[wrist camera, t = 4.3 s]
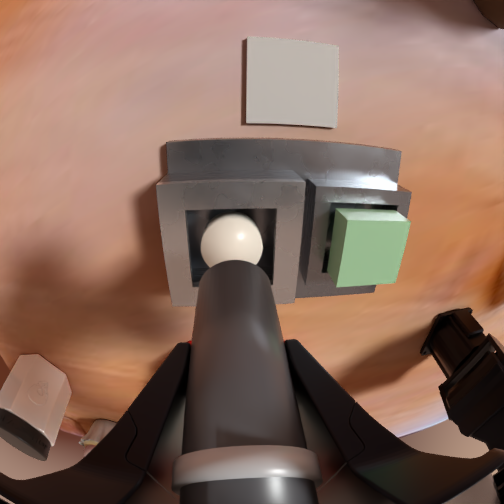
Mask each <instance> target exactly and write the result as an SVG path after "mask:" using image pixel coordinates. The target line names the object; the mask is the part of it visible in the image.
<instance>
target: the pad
mask: <svg viewBox="0 0 504 504" xmlns="http://www.w3.org/2000/svg"><path fill="white" fill-rule="evenodd" d="M338 84H339V46H336V45H331V44H325V43H318V42H311V41H303V40H294V39H283V38H269V37H247V75H246V123H270V124H293V125H309V126H321V127H331V128H337V115H338Z"/></svg>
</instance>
